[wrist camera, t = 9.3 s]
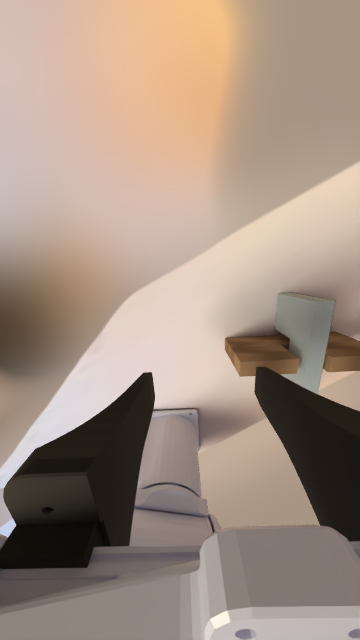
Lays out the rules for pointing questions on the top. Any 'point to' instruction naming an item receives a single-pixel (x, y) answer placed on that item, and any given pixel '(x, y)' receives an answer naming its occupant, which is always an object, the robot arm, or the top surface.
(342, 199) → the top surface
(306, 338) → the pale green bar
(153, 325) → the top surface
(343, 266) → the top surface
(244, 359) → the walnut plate
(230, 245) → the top surface
